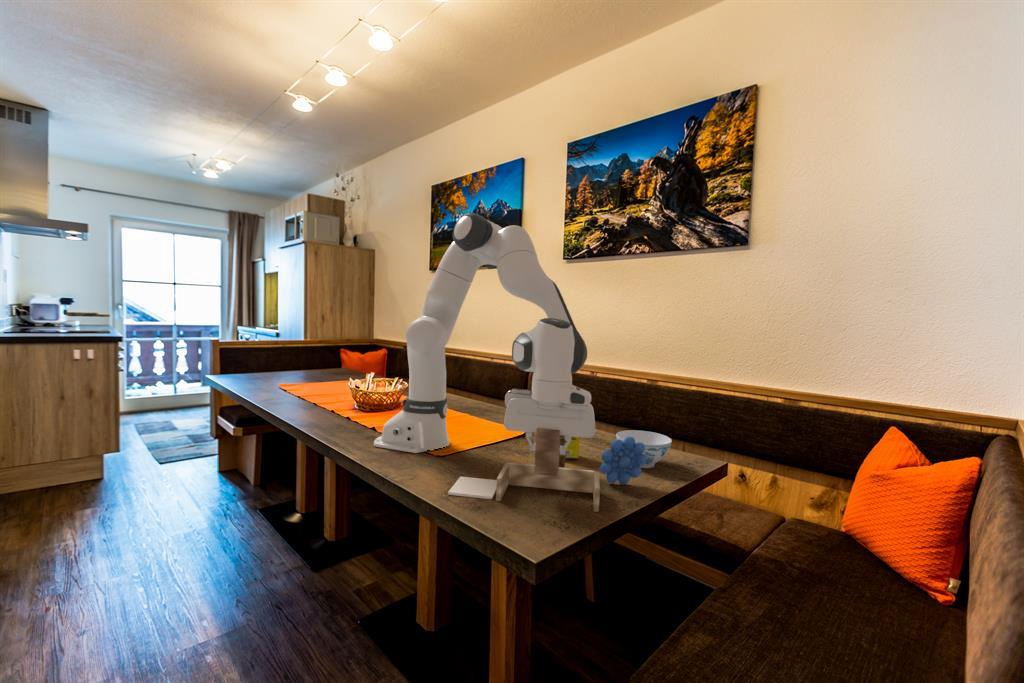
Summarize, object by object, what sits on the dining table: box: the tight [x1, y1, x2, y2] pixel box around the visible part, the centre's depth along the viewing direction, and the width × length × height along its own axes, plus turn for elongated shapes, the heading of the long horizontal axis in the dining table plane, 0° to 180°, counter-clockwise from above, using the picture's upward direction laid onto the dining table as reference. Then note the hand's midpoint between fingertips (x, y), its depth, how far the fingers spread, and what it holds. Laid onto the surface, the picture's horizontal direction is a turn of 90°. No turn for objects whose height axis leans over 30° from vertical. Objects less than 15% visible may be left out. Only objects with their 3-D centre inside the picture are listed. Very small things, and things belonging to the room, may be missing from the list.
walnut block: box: [534, 428, 561, 476], centre depth 101 cm, size 5×5×10 cm
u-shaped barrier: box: [495, 462, 601, 513], centre depth 102 cm, size 22×11×5 cm, turn 81°
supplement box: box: [565, 437, 581, 462], centre depth 131 cm, size 6×6×11 cm
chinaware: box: [615, 429, 673, 469], centre depth 127 cm, size 15×15×8 cm
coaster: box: [447, 476, 497, 500], centre depth 105 cm, size 10×10×1 cm
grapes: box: [599, 437, 647, 485], centre depth 112 cm, size 12×7×12 cm, turn 92°
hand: (547, 453), depth 101 cm, fingers closed on walnut block, 5 cm apart
